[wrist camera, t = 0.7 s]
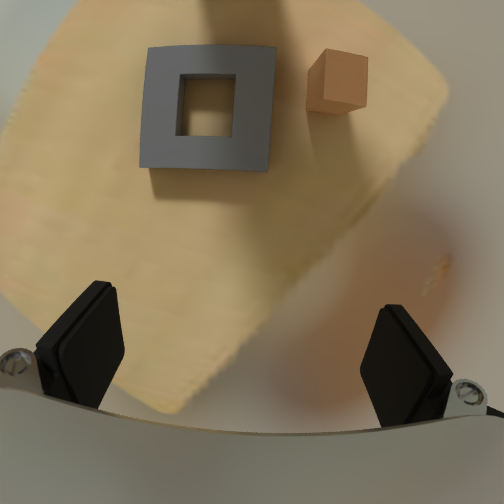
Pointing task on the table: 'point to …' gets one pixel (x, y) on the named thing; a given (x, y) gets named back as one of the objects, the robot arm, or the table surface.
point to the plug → (337, 83)
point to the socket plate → (172, 100)
